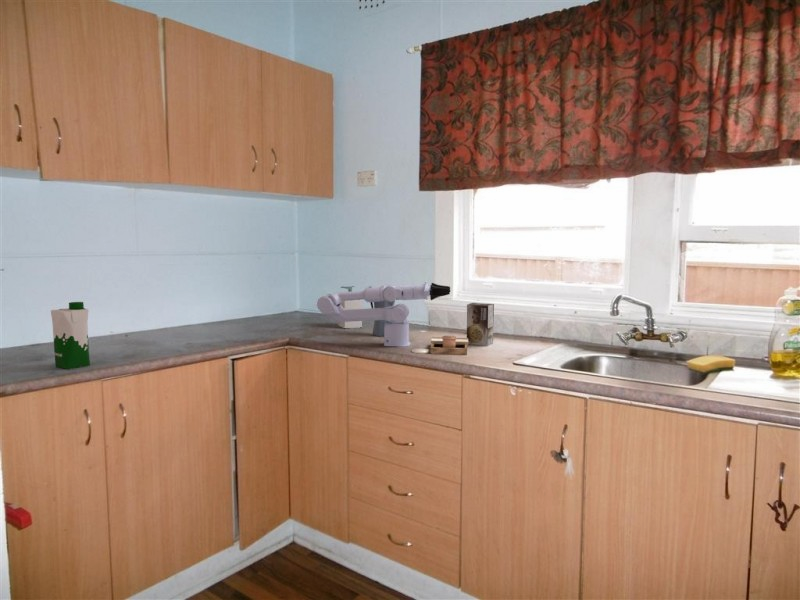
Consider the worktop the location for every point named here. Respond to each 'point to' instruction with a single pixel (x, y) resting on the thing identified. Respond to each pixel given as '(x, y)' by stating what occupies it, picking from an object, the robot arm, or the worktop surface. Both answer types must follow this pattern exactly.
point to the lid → (440, 341)
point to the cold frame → (448, 349)
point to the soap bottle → (351, 305)
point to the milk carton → (71, 336)
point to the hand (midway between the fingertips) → (449, 290)
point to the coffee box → (480, 323)
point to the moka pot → (380, 324)
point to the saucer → (420, 351)
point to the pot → (449, 341)
